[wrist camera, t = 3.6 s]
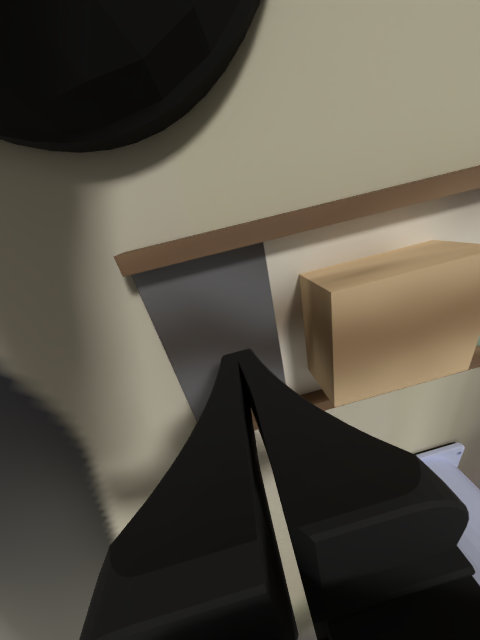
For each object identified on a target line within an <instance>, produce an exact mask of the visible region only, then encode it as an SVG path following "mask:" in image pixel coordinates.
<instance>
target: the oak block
mask: <svg viewBox="0 0 480 640" xmlns="http://www.w3.org/2000/svg"><path fill="white" fill-rule="evenodd" d="M299 278H300V289H301V299H302V310H303V320H304V330H305V341H306V351H307V362H308V370H309V371H310V372H311V374H312V375H313V377H314V378H315V380H316V381H317V383H318V384H319V386H320V387H321V388H322V390H323V391H324V393H325V394H326V396H327V397H328V399H329V400H330V401H331V403H332V404H333V406H334V407H338V406H341V405H345V404H348V403H352V402H356V401H359V400H363V399H366V398H370V397H373V396H377V395H380V394H384V393H387V392H391V391H395V390H398V389H402V388H405V387H409V386H412V385H416V384H419V383H423V382H426V381H430V380H434V379H437V378H441V377H444V376H448V375H451V374H455V373H458V372H462V371H465V370H468V369H469V366H470V363H471V360H472V357H473V354H474V351H475V348H476V344H477V341H478V338H479V335H480V244H476V243H464V242H453V241H441V240H430V241H426V242H422V243H418V244H414V245H411V246H407V247H403V248H399V249H395V250H391V251H387V252H383V253H379V254H375V255H372V256H368V257H364V258H360V259H356V260H352V261H348V262H344V263H340V264H336V265H333V266H329V267H325V268H321V269H317V270H313V271H309V272H305V273H301V274H299Z"/></svg>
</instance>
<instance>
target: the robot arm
mask: <svg viewBox="0 0 480 640" xmlns="http://www.w3.org/2000/svg"><path fill="white" fill-rule="evenodd" d="M251 409H252V412H253V414H254V417H255V420H256V423H257V426H258V429H259V431H260V434H261V437H262V440H263V443H264V446H265V448H266V451H267V454H268V457H269V461H270V464H271V467H272V471H273V475H274V478H275V482H276V486H277V490H278V493H279V497H280V501H281V505H282V508H283V512H284V516H285V520H286V523H287V527H288V531H289V535H290V539H291V542H292V546H293V550H294V554H295V557H296V561H297V565H298V569H299V572H300V576H301V580H302V584H303V587H304V591H305V595H306V599H307V603H308V606H309V610H310V614H311V618H312V621H313V625H314V629H315V633H316V636H317V640H480V490H479V489H478V488H477V487H476V486H475V485H474V484H473V483H472V482H471V481H470V480H469V479H468V478H467V477H466V476H465V475H464V474H463V473H462V472H461V471H460V470H459V469H458V468H457V467H458V464H459V461H460V459H461V456H462V454H463V451H464V449H465V447H464V446H463V445H462V444H461V443H454V444H451V445H447V446H444V447H441V448H437V449H434V450H430V451H427V452H424V453H420V454H417V455H414V454H412V453H410V452H407V451H405V450H403V449H400V448H398V447H396V446H393V445H391V444H389V443H386V442H384V441H382V440H379V439H377V438H375V437H372V436H370V435H368V434H366V433H364V432H362V431H360V430H358V429H356V428H354V427H352V426H350V425H348V424H346V423H345V422H343V421H341V420H339V419H338V418H336V417H334V416H332V415H330V414H329V413H327V412H325V411H323V410H322V409H320V408H318V407H317V406H315V405H314V404H312V403H311V402H309V401H308V400H306V399H305V398H303V397H302V396H300V395H299V394H298V393H296V392H295V391H293V390H292V389H291V388H290V387H288V386H287V385H286V384H285V383H283V382H282V381H281V380H280V379H279V378H278V377H276V376H275V375H274V374H273V373H272V372H271V371H270V370H269V369H268V368H267V367H266V366H265V365H264V364H263V363H262V362H261V361H260V360H259V358H258V357H257V356H256V355H255V353H254V352H253V350H251V349H250V348H249V349H245V350H241V351H238V352H234V353H230V354H227V355H223V356H222V358H221V363H220V367H219V371H218V374H217V377H216V380H215V383H214V386H213V389H212V392H211V394H210V396H209V399H208V401H207V403H206V406H205V408H204V410H203V412H202V414H201V416H200V418H199V420H198V422H197V424H196V426H195V428H194V430H193V432H192V433H191V435H190V437H189V439H188V440H187V442H186V444H185V445H184V447H183V449H182V450H181V452H180V453H179V455H178V457H177V458H176V460H175V461H174V463H173V464H172V466H171V467H170V468H169V470H168V471H167V473H166V474H165V476H164V477H163V478H162V480H161V481H160V483H159V484H158V486H157V487H156V488H155V490H154V491H153V493H152V494H151V495H150V497H149V498H148V499H147V501H146V502H145V503H144V504H143V506H142V507H141V508H140V509H139V511H138V512H137V513H136V514H135V516H134V517H133V518H132V519H131V520H130V522H129V523H128V524H127V525H126V527H125V528H124V529H123V530H122V532H121V533H120V534H119V535H118V537H117V538H116V539H115V540H114V541H113V543H112V544H111V545H110V546H109V549H108V552H107V555H106V558H105V560H104V563H103V566H102V568H101V571H100V573H99V576H98V580H97V583H96V586H95V589H94V593H93V596H92V599H91V602H90V606H89V609H88V612H87V616H86V619H85V623H84V626H83V629H82V633H81V636H80V639H79V640H297V639H298V630H297V626H296V622H295V618H294V613H293V609H292V605H291V601H290V596H289V592H288V588H287V584H286V579H285V575H284V571H283V566H282V562H281V558H280V554H279V549H278V545H277V541H276V536H275V532H274V528H273V523H272V519H271V515H270V510H269V506H268V502H267V497H266V493H265V488H264V484H263V480H262V475H261V471H260V466H259V460H258V454H257V447H256V440H255V433H254V426H253V419H252V412H251Z"/></svg>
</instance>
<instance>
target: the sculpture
mask: <svg viewBox="0 0 480 640" xmlns="http://www.w3.org/2000/svg"><path fill="white" fill-rule="evenodd" d="M259 3H260V0H0V139H2V140H5V141H8V142H11V143H14V144H18V145H23V146H28V147H33V148H38V149H44V150H49V151H64V152H90V151H101V150H110V149H114V148H118V147H122V146H125V145H129V144H133V143H136V142H138V141H141V140H143V139H145V138H148V137H150V136H152V135H154V134H157V133H159V132H161V131H163V130H164V129H166V128H167V127H169V126H170V125H171V124H173V123H174V122H176V121H177V120H179V119H180V118H182V117H183V116H184V115H185V114H186V113H188V112H189V111H190V110H191V109H192V108H193V107H194V106H195V105H196V104H197V103H198V102H199V101H200V100H201V99H202V98H204V97H205V96H206V94H207V93H208V92H209V91H210V89H211V88H212V87H213V85H214V84H215V83H216V82H217V80H218V79H219V78H220V76H221V75H222V74H223V73H224V71H225V70H226V68H227V67H228V65H229V63H230V61H231V60H232V58H233V56H234V55H235V53H236V51H237V50H238V48H239V46H240V44H241V43H242V41H243V39H244V37H245V35H246V33H247V30H248V28H249V26H250V24H251V21H252V19H253V17H254V14H255V12H256V10H257V8H258V5H259Z"/></svg>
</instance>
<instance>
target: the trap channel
mask: <svg viewBox="0 0 480 640" xmlns="http://www.w3.org/2000/svg"><path fill="white" fill-rule="evenodd" d="M430 240H441V241H453V242H464V243H476V244H480V165H479V166H475V167H471V168H467V169H463V170H459V171H455V172H451V173H447V174H442V175H438V176H434V177H430V178H426V179H422V180H418V181H414V182H410V183H406V184H402V185H398V186H393V187H389V188H385V189H381V190H377V191H373V192H369V193H365V194H361V195H357V196H353V197H349V198H345V199H340V200H336V201H332V202H328V203H324V204H320V205H316V206H312V207H308V208H304V209H300V210H296V211H291V212H287V213H283V214H279V215H275V216H271V217H267V218H263V219H259V220H255V221H251V222H247V223H242V224H238V225H234V226H230V227H226V228H222V229H218V230H214V231H210V232H206V233H202V234H198V235H194V236H189V237H185V238H181V239H177V240H173V241H169V242H165V243H161V244H157V245H153V246H149V247H145V248H140V249H136V250H132V251H128V252H124V253H122V254H119V255H117V256H114V259H115V261H116V263H117V265H118V267H119V269H120V271H121V274H122V276H123V277H124V276H128V275H132V277H133V279H134V282H135V284H136V286H137V288H138V291H139V293H140V295H141V297H142V300H143V302H144V304H145V306H146V309H147V311H148V313H149V315H150V317H151V320H152V322H153V324H154V326H155V329H156V331H157V333H158V335H159V338H160V340H161V342H162V344H163V347H164V349H165V351H166V353H167V355H168V358H169V360H170V362H171V364H172V367H173V369H174V371H175V373H176V376H177V378H178V380H179V382H180V384H181V387H182V389H183V391H184V393H185V396H186V398H187V400H188V402H189V405H190V407H191V409H192V411H193V414H194V416H195V418H196V420H197V422H198V420H199V418H200V416H201V414H202V412H203V410H204V408H205V406H206V403H207V401H208V399H209V396H210V394H211V392H212V389H213V386H214V383H215V380H216V377H217V374H218V371H219V367H220V363H221V358H222V356H223V355H227V354H230V353H234V352H238V351H241V350H245V349H249V348H250V349H251V350H253V352H254V353H255V355H256V356H257V357H258V358H259V360H260V361H261V362H262V363H263V364H264V365H265V366H266V367H267V368H268V369H269V370H270V371H271V372H272V373H273V374H274V375H275V376H276V377H278V378H279V379H280V380H281V381H282V382H283V383H285V384H286V385H287V386H288V387H290V388H291V389H292V390H293V391H295V392H296V393H298V394H299V395H300V396H302V397H303V398H305V399H306V400H308V401H309V402H311V403H312V404H314V405H315V406H317V407H318V408H320V409H322V410H323V411H325V410H328V409H332V408H335V407H334V406H333V404H332V403H331V401H330V400H329V399H328V397H327V396H326V394H325V393H324V391H323V390H322V388H321V387H320V386H319V384H318V383H317V381H316V380H315V378H314V377H313V375H312V374H311V372H310V371H309V370H308V362H307V351H306V341H305V330H304V320H303V310H302V299H301V289H300V278H299V274H301V273H305V272H309V271H313V270H317V269H321V268H325V267H329V266H333V265H336V264H340V263H344V262H348V261H352V260H356V259H360V258H364V257H368V256H372V255H375V254H379V253H383V252H387V251H391V250H395V249H399V248H403V247H407V246H411V245H414V244H418V243H422V242H426V241H430ZM477 367H480V335H479V338H478V341H477V344H476V348H475V351H474V354H473V357H472V360H471V363H470V366H469V369H468V370H470V369H473V368H477ZM465 371H466V370H465ZM462 372H463V371H462ZM458 373H459V372H458ZM455 374H456V373H455ZM451 375H452V374H451ZM448 376H449V375H448ZM444 377H445V376H444ZM437 379H438V378H437ZM430 381H431V380H430ZM426 382H427V381H426ZM423 383H424V382H423ZM419 384H420V383H419ZM416 385H417V384H416ZM412 386H413V385H412ZM409 387H410V386H409ZM405 388H406V387H405ZM398 390H399V389H398ZM391 392H392V391H391ZM387 393H388V392H387ZM384 394H385V393H384ZM380 395H381V394H380ZM377 396H378V395H377ZM373 397H374V396H373ZM370 398H371V397H370ZM366 399H367V398H366ZM359 401H360V400H359ZM352 403H353V402H352ZM348 404H349V403H348ZM345 405H346V404H345ZM341 406H342V405H341ZM338 407H339V406H338ZM251 412H252V409H251ZM252 419H253V426H254V430H257V429H258V426H257V423H256V420H255V417H254V414H253V412H252Z"/></svg>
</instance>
